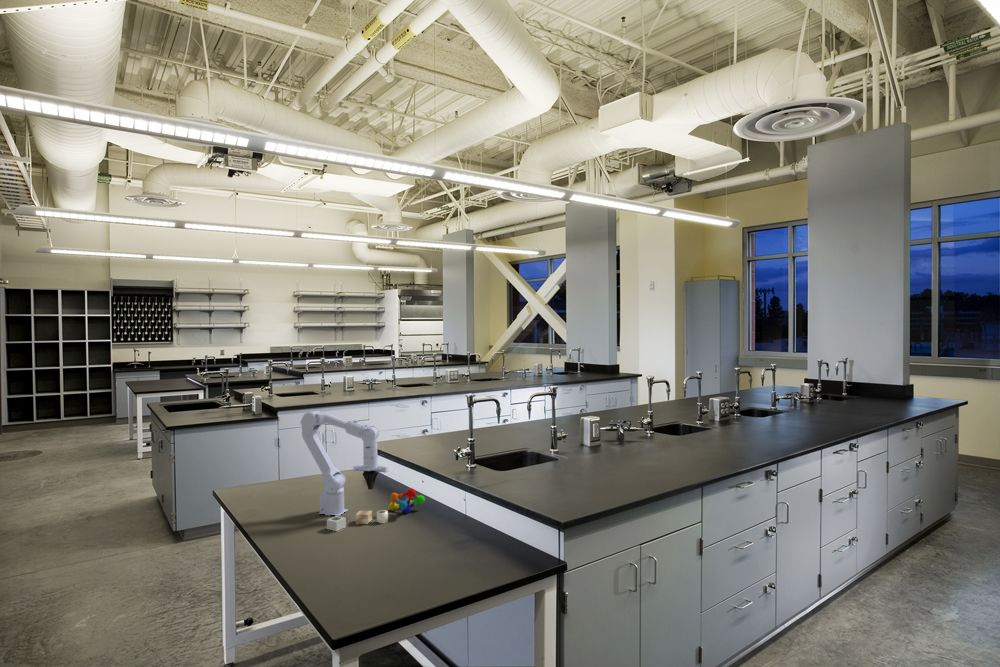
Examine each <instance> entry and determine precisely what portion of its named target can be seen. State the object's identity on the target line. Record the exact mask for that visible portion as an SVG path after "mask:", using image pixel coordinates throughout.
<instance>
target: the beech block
mask: <svg viewBox="0 0 1000 667" xmlns="http://www.w3.org/2000/svg"><path fill="white" fill-rule="evenodd" d="M371 520H372V521H373V510H359V511H357V512H356V514H355V525H359V524H368V523H369V522H370V521H371ZM372 521H371V522H372ZM371 522H370V523H371ZM370 523H369V524H370ZM369 524H368V525H369Z"/></svg>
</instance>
